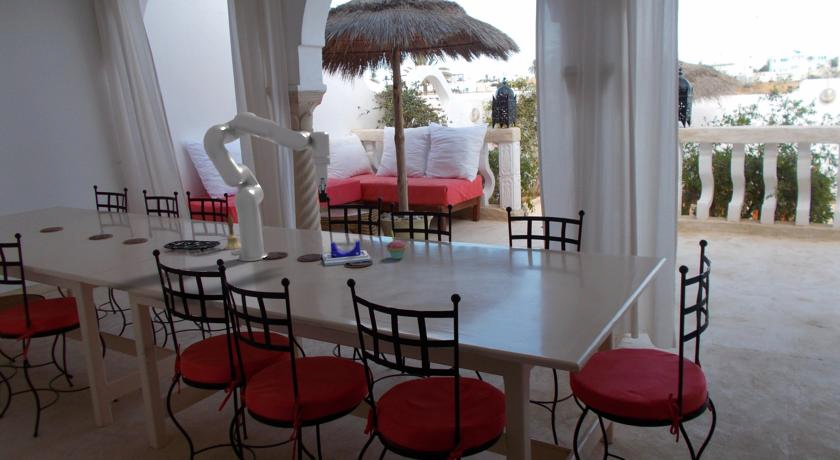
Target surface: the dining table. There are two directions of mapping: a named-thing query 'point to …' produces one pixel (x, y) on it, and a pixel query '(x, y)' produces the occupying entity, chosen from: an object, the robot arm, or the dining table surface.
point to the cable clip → (344, 254)
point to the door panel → (345, 259)
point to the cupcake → (396, 248)
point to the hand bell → (232, 237)
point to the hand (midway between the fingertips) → (322, 200)
